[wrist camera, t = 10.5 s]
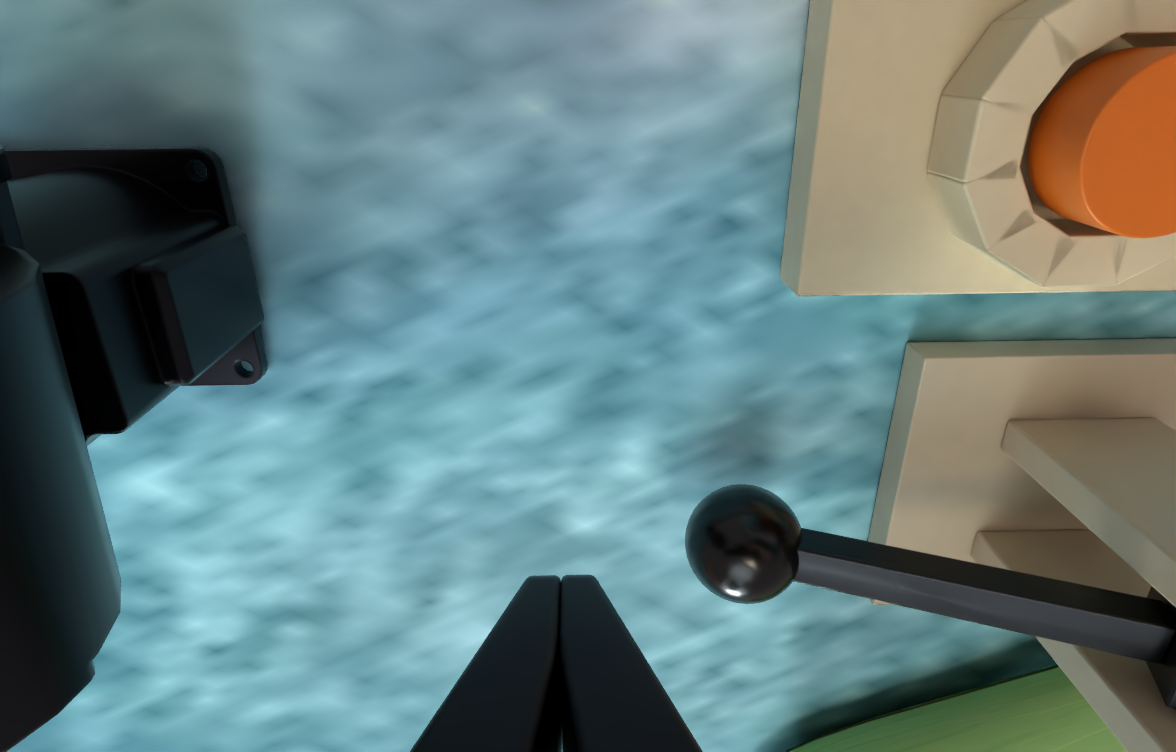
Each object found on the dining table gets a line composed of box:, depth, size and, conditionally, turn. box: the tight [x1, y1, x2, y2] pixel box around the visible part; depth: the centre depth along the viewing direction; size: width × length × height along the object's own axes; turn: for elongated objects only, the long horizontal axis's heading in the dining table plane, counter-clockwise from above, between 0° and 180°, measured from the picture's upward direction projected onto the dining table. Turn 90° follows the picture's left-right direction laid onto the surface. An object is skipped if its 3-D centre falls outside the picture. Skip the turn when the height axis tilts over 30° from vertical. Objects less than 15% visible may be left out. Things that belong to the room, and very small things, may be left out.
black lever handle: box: [685, 484, 1176, 709], centre depth 17 cm, size 14×3×3 cm, turn 91°
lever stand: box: [868, 338, 1176, 752], centre depth 18 cm, size 10×9×9 cm
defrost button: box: [1028, 46, 1176, 238], centre depth 14 cm, size 4×4×2 cm
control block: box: [780, 0, 1176, 296], centre depth 16 cm, size 12×8×4 cm, turn 91°
